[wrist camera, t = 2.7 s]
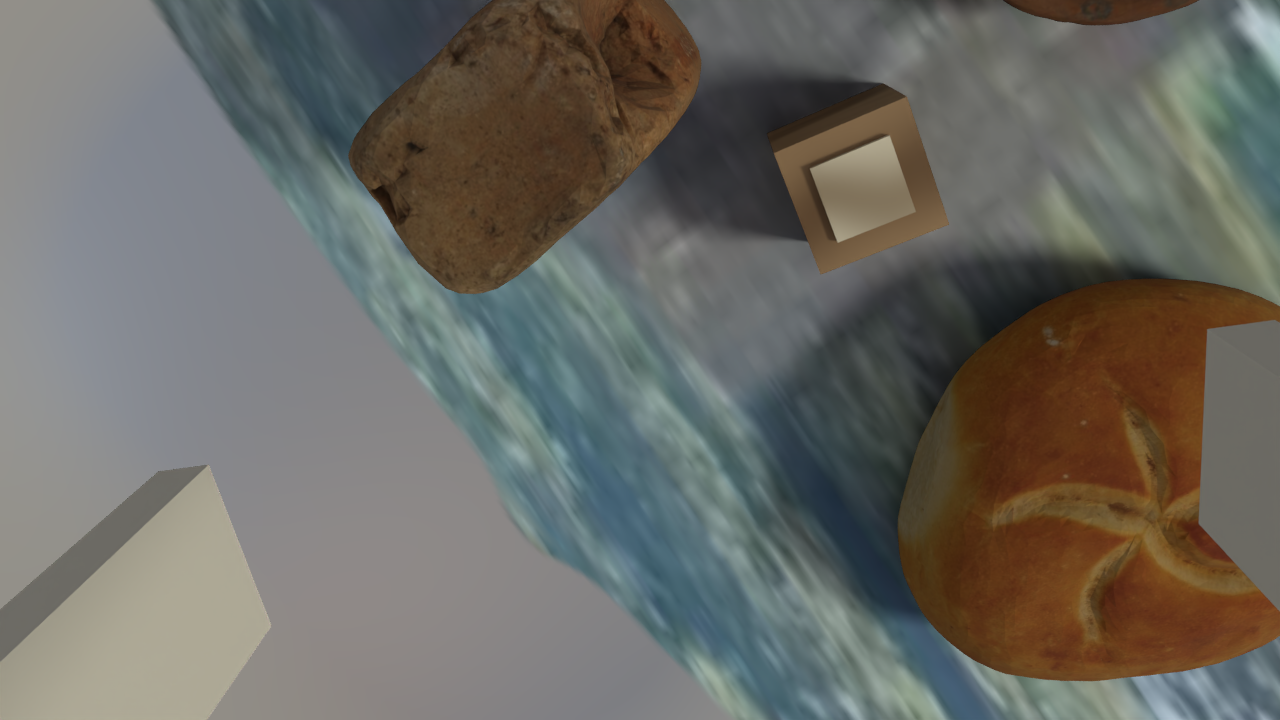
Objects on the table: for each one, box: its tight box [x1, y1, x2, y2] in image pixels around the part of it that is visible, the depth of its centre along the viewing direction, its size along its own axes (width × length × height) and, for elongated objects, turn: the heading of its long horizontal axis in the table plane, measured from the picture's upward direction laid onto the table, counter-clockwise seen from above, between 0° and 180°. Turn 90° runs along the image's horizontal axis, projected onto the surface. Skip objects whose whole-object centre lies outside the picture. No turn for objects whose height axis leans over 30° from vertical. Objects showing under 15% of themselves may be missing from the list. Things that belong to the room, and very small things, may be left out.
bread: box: [898, 279, 1280, 681], centre depth 47 cm, size 23×23×10 cm
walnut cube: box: [767, 84, 949, 274], centre depth 43 cm, size 6×6×6 cm
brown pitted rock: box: [348, 0, 701, 294], centre depth 36 cm, size 11×8×20 cm
